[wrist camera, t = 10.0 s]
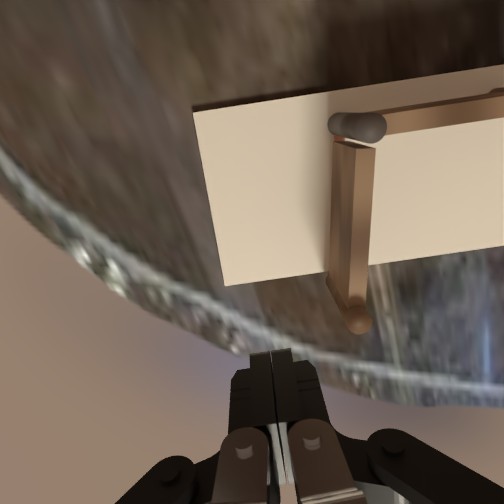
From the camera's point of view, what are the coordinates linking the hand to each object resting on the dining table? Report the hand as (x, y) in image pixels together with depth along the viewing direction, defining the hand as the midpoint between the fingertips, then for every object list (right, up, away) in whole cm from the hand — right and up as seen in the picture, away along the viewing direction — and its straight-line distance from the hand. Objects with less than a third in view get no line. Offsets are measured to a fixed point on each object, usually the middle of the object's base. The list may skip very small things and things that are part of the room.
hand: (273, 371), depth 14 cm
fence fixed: (+10, +13, +11) cm, 19 cm away
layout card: (+7, +9, +12) cm, 17 cm away
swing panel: (+5, +6, +12) cm, 15 cm away
